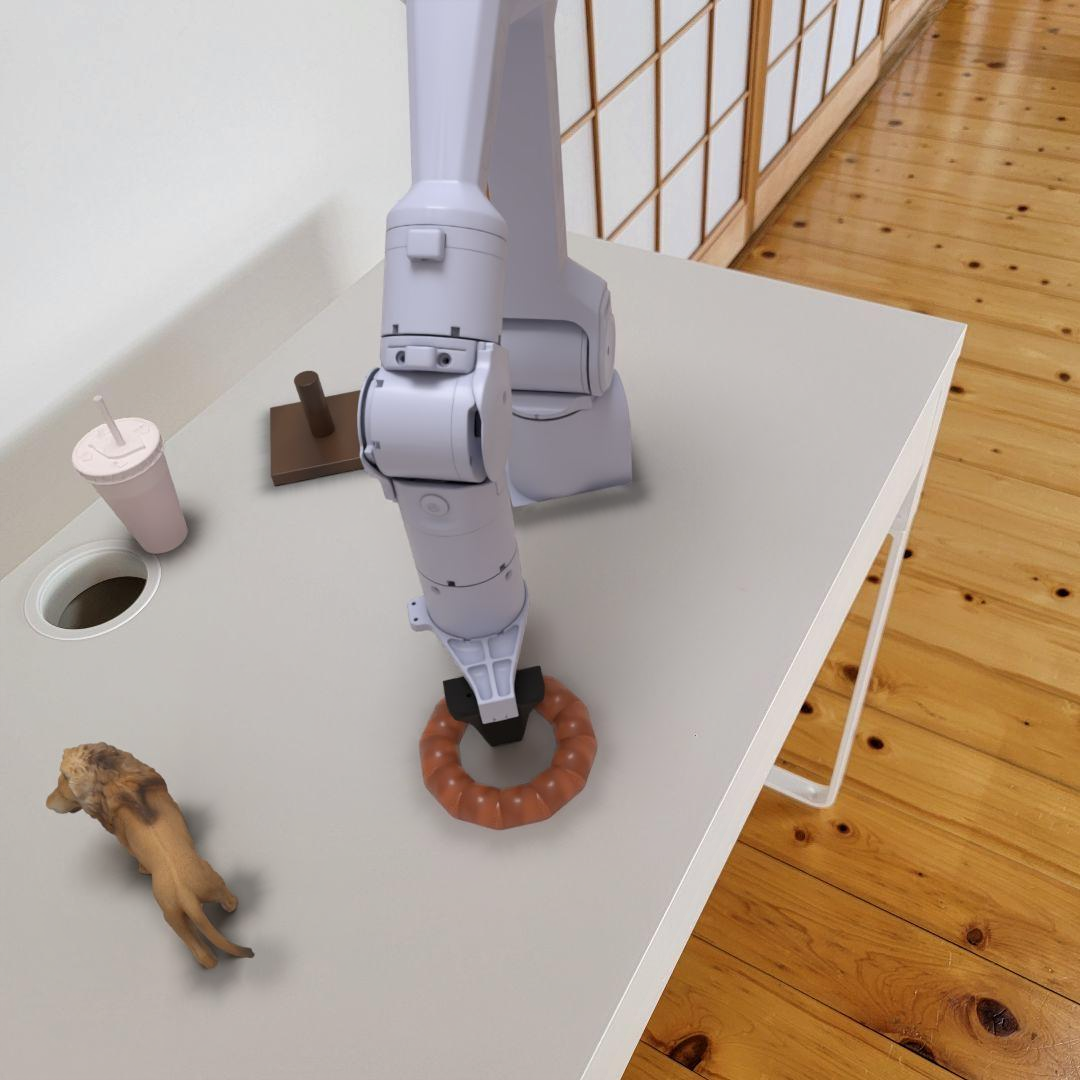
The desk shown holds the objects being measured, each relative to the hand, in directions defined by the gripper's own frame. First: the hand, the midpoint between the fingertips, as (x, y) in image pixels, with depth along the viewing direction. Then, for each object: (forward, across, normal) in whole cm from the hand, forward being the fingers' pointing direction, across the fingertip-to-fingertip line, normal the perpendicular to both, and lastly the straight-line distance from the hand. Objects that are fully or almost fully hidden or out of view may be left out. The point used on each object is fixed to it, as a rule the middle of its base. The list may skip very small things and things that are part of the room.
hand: (495, 688), depth 64 cm
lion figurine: (+2, +8, -20) cm, 22 cm away
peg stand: (+1, -30, -10) cm, 31 cm away
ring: (0, +4, 0) cm, 4 cm away
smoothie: (+2, -22, -23) cm, 32 cm away
